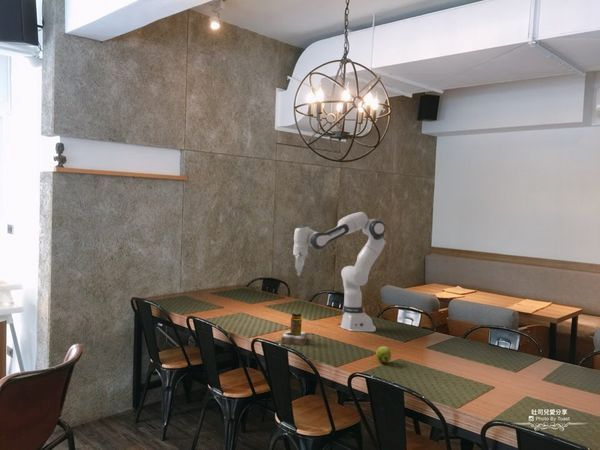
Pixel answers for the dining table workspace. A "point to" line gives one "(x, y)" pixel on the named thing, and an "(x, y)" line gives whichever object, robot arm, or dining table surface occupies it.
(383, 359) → the apple
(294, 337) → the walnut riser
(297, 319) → the condiment
